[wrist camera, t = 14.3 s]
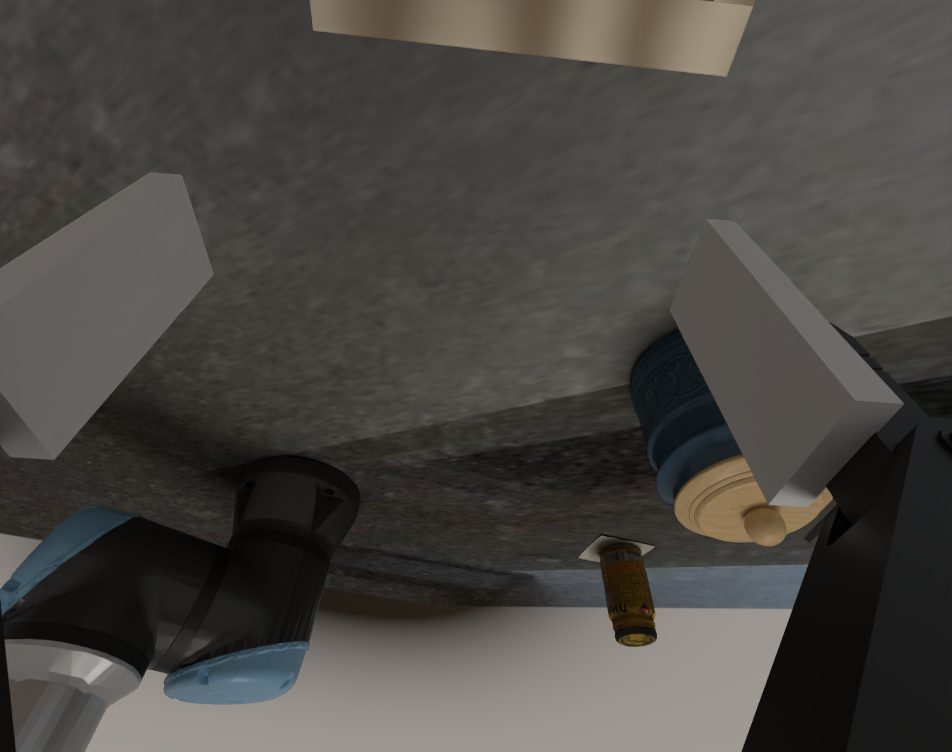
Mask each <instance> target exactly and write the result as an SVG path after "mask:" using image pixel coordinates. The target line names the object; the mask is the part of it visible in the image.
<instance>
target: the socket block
mask: <svg viewBox="0 0 952 752" xmlns="http://www.w3.org/2000/svg"><path fill="white" fill-rule="evenodd" d="M754 3H755V0H310V7H311V15H312V24H313V31H320V32H329V33H338V34H347V35H356V36H365V37H374V38H383V39H392V40H401V41H410V42H419V43H428V44H437V45H446V46H455V47H465V48H474V49H483V50H492V51H501V52H510V53H519V54H528V55H537V56H546V57H555V58H564V59H573V60H582V61H591V62H600V63H609V64H618V65H627V66H636V67H645V68H654V69H663V70H672V71H681V72H690V73H699V74H708V75H717V76H726V77H727V74H728V71H729V69H730V66H731V63H732V61H733V58H734V56H735V53H736V50H737V48H738V45H739V42H740V40H741V37H742V35H743V32H744V29H745V27H746V24H747V21H748V19H749V16H750V13H751V11H752V8H753V6H754Z"/></svg>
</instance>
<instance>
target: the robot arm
mask: <svg viewBox="0 0 952 752" xmlns="http://www.w3.org/2000/svg"><path fill="white" fill-rule="evenodd" d="M213 275H214V274H213V270H212V267H211V264H210V261H209V258H208V255H207V252H206V248H205V245H204V242H203V239H202V236H201V233H200V230H199V227H198V223H197V220H196V217H195V214H194V211H193V208H192V205H191V201H190V198H189V195H188V192H187V189H186V186H185V183H184V180H183V176H182V175H178V174H166V173H154V172H150V173H148V174H146V175H145V176H143V177H142V178H140V179H139V180H137V181H136V182H134V183H132V184H131V185H129V186H128V187H126V188H125V189H123V190H121V191H120V192H118V193H117V194H115V195H114V196H112V197H111V198H109V199H107V200H106V201H104V202H103V203H101V204H100V205H98V206H97V207H95V208H93V209H92V210H90V211H89V212H87V213H86V214H84V215H82V216H81V217H79V218H78V219H76V220H75V221H73V222H72V223H70V224H68V225H67V226H65V227H64V228H62V229H61V230H59V231H57V232H56V233H54V234H53V235H51V236H50V237H48V238H47V239H45V240H43V241H42V242H40V243H39V244H37V245H36V246H34V247H32V248H31V249H29V250H28V251H26V252H25V253H23V254H22V255H20V256H18V257H17V258H15V259H14V260H12V261H11V262H9V263H8V264H6V265H4V266H3V267H1V268H0V446H1V447H2V448H3V449H4V450H5V452H6V453H7V454H8V455H9V456H10V457H19V458H35V459H51V460H54V459H55V458H56V457H57V456H58V455H59V454H60V452H61V451H62V450H63V449H64V448H65V447H66V445H67V444H68V443H69V442H70V441H71V440H72V439H73V437H74V436H75V435H76V434H77V433H78V432H79V430H80V429H81V428H82V427H83V426H84V425H85V423H86V422H87V421H88V420H89V419H90V418H91V416H92V415H93V414H94V413H95V412H96V411H97V410H98V408H99V407H100V406H101V405H102V404H103V403H104V401H105V400H106V399H107V398H108V397H109V396H110V394H111V393H112V392H113V391H114V390H115V389H116V387H117V386H118V385H119V384H120V383H121V382H122V381H123V379H124V378H125V377H126V376H127V375H128V374H129V372H130V371H131V370H132V369H133V368H134V367H135V365H136V364H137V363H138V362H139V361H140V360H141V358H142V357H143V356H144V355H145V354H146V353H147V351H148V350H149V349H150V348H151V347H152V346H153V345H154V343H155V342H156V341H157V340H158V339H159V338H160V336H161V335H162V334H163V333H164V332H165V331H166V329H167V328H168V327H169V326H170V325H171V324H172V322H173V321H174V320H175V319H176V318H177V317H178V316H179V314H180V313H181V312H182V311H183V310H184V309H185V307H186V306H187V305H188V304H189V303H190V302H191V300H192V299H193V298H194V297H195V296H196V295H197V293H198V292H199V291H200V290H201V289H202V288H203V287H204V285H205V284H206V283H207V282H208V281H209V280H210V278H211V277H212V276H213ZM669 310H670V312H671V314H672V316H673V318H674V320H675V322H676V324H677V326H678V328H679V330H680V332H681V334H682V336H683V338H684V340H685V342H686V344H687V346H688V348H689V350H690V352H691V354H692V356H693V357H694V359H695V361H696V363H697V365H698V367H699V369H700V371H701V373H702V375H703V377H704V379H705V381H706V383H707V385H708V387H709V389H710V391H711V393H712V395H713V397H714V399H715V401H716V403H717V405H718V407H719V409H720V411H721V413H722V415H723V417H724V419H725V421H726V423H727V424H728V426H729V428H730V430H731V432H732V434H733V436H734V438H735V440H736V442H737V444H738V446H739V448H740V450H741V452H742V454H743V456H744V458H745V460H746V462H747V464H748V466H749V468H750V470H751V472H752V474H753V476H754V478H755V480H756V482H757V484H758V486H759V488H760V490H761V492H762V493H763V495H764V497H765V499H766V501H767V503H768V505H778V506H794V507H809V505H810V504H811V503H812V502H813V501H814V500H815V499H816V498H817V497H818V496H819V495H820V494H821V493H822V492H823V490H824V489H825V488H826V487H827V489H828V490H829V492H830V493H831V495H832V497H833V498H834V500H835V501H836V503H837V505H836V506H835V507H834V508H833V509H832V510H831V511H830V512H829V513H828V514H827V515H826V516H825V517H824V518H823V519H822V520H821V521H820V522H819V523H818V524H817V525H816V526H815V527H814V528H813V529H812V530H811V531H810V532H809V533H808V534H807V535H806V537H805V538H804V539H805V540H807V541H808V542H811V541H812V540H813V539H814V538H815V537H816V536H819V537H818V539H817V542H816V545H815V548H814V551H813V553H812V556H811V559H810V562H809V565H808V567H807V570H806V573H805V576H804V579H803V581H802V584H801V587H800V590H799V593H798V595H797V598H796V601H795V604H794V607H793V609H792V613H791V615H790V618H789V621H788V623H787V626H786V629H785V632H784V635H783V638H782V640H781V643H780V646H779V648H778V651H777V654H776V657H775V660H774V662H773V665H772V668H771V671H770V674H769V677H768V679H767V682H766V685H765V688H764V691H763V693H762V696H761V699H760V702H759V704H758V707H757V710H756V713H755V716H754V718H753V721H752V724H751V727H750V729H749V732H748V735H747V738H746V741H745V744H744V746H743V749H742V752H952V420H951V419H946V418H939V417H929V416H928V415H927V414H926V413H925V412H924V411H923V410H922V409H921V408H920V407H919V406H918V405H917V404H916V403H915V402H914V400H913V399H912V398H911V397H910V396H909V395H908V394H907V393H906V392H905V391H904V390H903V389H902V388H901V387H900V386H899V385H898V384H897V383H896V382H895V381H894V379H893V378H892V377H891V376H890V375H889V374H888V373H887V372H883V371H882V369H883V368H882V367H881V366H880V365H879V364H878V363H877V362H876V361H875V360H874V358H870V357H869V355H870V354H869V353H868V352H867V351H866V350H865V349H864V348H863V347H862V346H861V345H860V344H859V343H858V342H857V341H856V340H855V339H854V338H853V337H852V336H850V335H849V334H847V333H846V332H844V331H843V330H841V329H840V328H838V327H837V326H835V325H834V324H832V323H831V322H828V321H827V320H826V319H825V318H824V316H823V315H822V314H821V313H820V312H819V311H818V310H817V309H816V308H815V307H814V306H813V305H812V304H811V302H810V301H809V300H808V299H807V298H806V297H805V296H804V295H803V294H802V293H801V292H800V291H799V289H798V288H797V287H796V286H795V285H794V284H793V283H792V282H791V281H790V280H789V279H788V278H787V276H786V275H785V274H784V273H783V272H782V271H781V270H780V269H779V268H778V267H777V266H776V265H775V263H774V262H773V261H772V260H771V259H770V258H769V257H768V256H767V255H766V254H765V253H764V252H763V251H762V249H761V248H760V247H759V246H758V245H757V244H756V243H755V242H754V241H753V240H752V239H751V238H750V236H749V235H748V234H747V233H746V232H745V231H744V230H743V229H742V228H741V227H740V226H739V225H738V223H737V222H736V221H725V220H714V219H706V220H705V223H704V225H703V228H702V230H701V233H700V235H699V238H698V240H697V243H696V245H695V248H694V250H693V252H692V255H691V257H690V260H689V262H688V265H687V267H686V270H685V272H684V275H683V277H682V280H681V282H680V284H679V287H678V289H677V292H676V294H675V297H674V299H673V302H672V304H671V307H670V309H669ZM359 506H360V494H359V492H358V490H357V488H356V486H355V485H354V484H353V483H352V482H351V481H350V480H349V479H348V478H347V477H346V476H344V475H343V474H342V473H340V472H338V471H337V470H335V469H333V468H331V467H329V466H327V465H324V464H321V463H319V462H315V461H312V460H308V459H303V458H296V457H272V458H267V459H263V460H260V461H257V462H255V463H253V464H252V465H250V466H249V467H248V468H247V469H246V470H245V472H244V474H243V476H242V478H241V480H240V482H239V484H238V487H237V490H236V497H235V509H234V521H233V532H232V536H231V539H230V541H229V543H228V545H227V548H225V547H222V546H219V545H216V544H214V543H211V542H208V541H205V540H203V539H200V538H197V537H194V536H192V535H189V534H186V533H183V532H181V531H178V530H175V529H172V528H170V527H167V526H164V525H161V524H159V523H156V522H153V521H150V520H148V519H145V518H142V515H139V514H129V513H125V512H122V511H119V510H115V509H112V508H109V507H106V506H101V505H94V506H89V507H85V508H83V509H81V510H79V511H77V512H75V513H74V514H72V515H71V516H70V517H68V518H67V519H66V520H65V521H63V522H62V523H61V524H60V525H59V526H58V527H57V528H56V529H55V530H53V531H52V532H51V533H50V534H49V535H48V536H47V537H46V538H45V539H44V540H43V541H42V542H41V543H40V544H39V545H38V546H37V547H36V549H35V550H34V551H33V552H32V553H31V554H30V555H29V556H28V557H27V558H26V559H25V560H24V561H23V562H22V564H21V565H20V566H19V567H18V568H17V569H16V571H15V572H14V573H13V574H12V576H11V579H10V580H8V581H7V582H6V583H5V584H4V586H3V587H2V588H1V589H0V752H85V750H86V748H87V746H88V744H89V742H90V740H91V738H92V736H93V734H94V732H95V730H96V728H97V726H98V724H99V722H100V720H101V718H102V716H103V714H104V712H105V710H106V709H107V708H108V707H109V706H110V705H111V704H113V703H115V702H116V701H118V700H120V699H121V698H123V697H125V696H127V695H128V694H130V693H132V692H133V691H135V689H137V688H138V686H139V684H140V682H141V680H142V678H143V676H144V674H145V672H146V670H147V669H149V670H155V671H159V672H163V673H166V674H168V676H167V677H166V678H165V680H164V694H165V695H166V696H168V697H170V698H176V699H179V700H180V701H184V702H190V703H200V704H246V703H255V702H262V701H267V700H271V699H274V698H277V697H279V696H281V695H283V694H285V693H286V692H287V691H288V690H290V689H291V687H292V686H293V685H294V683H295V682H296V679H297V677H298V674H299V671H300V668H301V665H302V662H303V659H304V656H305V652H306V651H307V650H308V648H309V645H310V643H309V640H310V637H311V633H312V629H313V625H314V621H315V618H316V614H317V610H318V606H319V602H320V599H321V595H322V591H323V587H324V584H325V580H326V576H327V572H328V568H329V565H330V561H331V558H332V556H333V555H334V553H335V551H336V550H337V548H338V547H339V545H340V544H341V542H342V541H343V539H344V538H345V536H346V535H347V533H348V532H349V530H350V528H351V527H352V525H353V524H354V522H355V520H356V517H357V514H358V510H359Z"/></svg>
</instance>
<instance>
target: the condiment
mask: <svg viewBox="0 0 952 752" xmlns="http://www.w3.org/2000/svg"><path fill="white" fill-rule="evenodd" d="M654 547H655V546H650V545H646V544H642V543H638V542H633V541H628V540H621V539H617V538H613V537H606V536H600V537H599V538H597V539H596V540H595V541H594V542H593V543H592V544H591V545H590V546H589V547H587V548H586V550H585V551H584V552H583V553H581V555H580V556H579V557H578V558H581V559H587V560H590V561H595V562H600V563H601V570H602V577H603V582H604V588H605V595H606V602H607V608H608V613H609V618H610V620H611V621H612V623H613V629H614V631H615V638H616V641H617V642H618V643H620V644H622V645H624V646H631V647H639V646H646V645H650V644H652V643H653V642H655V641H656V639H657V633H656V630H655V623H654V622H653V620H654V618H655V610H654V606H653V605H654V604H653V600H652V596H651V592H650V587H649V582H648V577H647V573H646V570H645V566H644V561H643V557H642V556H643V555H644V554H645V553H647V552H649V551H650V550H651V549H652V548H654ZM596 552H597V553H598V554H597V553H596Z"/></svg>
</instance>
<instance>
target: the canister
mask: <svg viewBox="0 0 952 752" xmlns="http://www.w3.org/2000/svg"><path fill="white" fill-rule="evenodd" d="M631 400H632V403H633V407H634V410H635V413H636V414H637V416H638V418H639V421H640V424H641V428H642V431H643V435H644V438H645V442H646V452H647V457H648V460H649V462H650V464H651V465H652V467H653V468H654V469H655V470H656V471H657V474H656V482H655V483H656V489H657V492H658V494H659V496H660V497H661V498H662V500H663V501H664V502H665V503H666V504H667V505H669V506H670V507H672V508H673V509H674V511H675V515H676V517H677V519H678V520H679V521H680V523H681V524H682V525H684V526H685V527H686V528H688V529H689V530H691V531H693V532H696V533H698V534H702V535H705V536H710V537H713V538H716V539H719V540H723V541H729V542H756V543H758V544H760V545H764V546H773V545H776V544H779V543H780V542H782V540H783V539H784V538H785V536H786V534H788V533H791V532H793V531H795V530H797V529H799V528H801V527H803V526H805V525H806V524H808V523H809V522H810V521H812V520H813V519H814V518H815V517H816V516H817V515H818V514H819V512H820V511H821V510H822V509H823V508H824V507H826V506H827V505H828V503H829V502H830V501H831V500H832V498H833V497H832V495H831V493H830V492H829V490H828V489H827V487H826V488H825V489H824V490H823V492H822V493H821V494H820V495H819V496H818V497H817V498H816V499H815V500H814V501H813V502H812V503H811V504H810V505H809V507H794V506H778V505H768V503H767V501H766V499H765V497H764V495H763V493H762V492H761V490H760V488H759V486H758V484H757V482H756V480H755V478H754V476H753V474H752V472H751V470H750V468H749V466H748V464H747V462H746V460H745V458H744V456H743V454H742V452H741V450H740V448H739V446H738V444H737V442H736V440H735V438H734V436H733V434H732V432H731V430H730V428H729V426H728V424H727V423H726V421H725V419H724V417H723V415H722V413H721V411H720V409H719V407H718V405H717V403H716V401H715V399H714V397H713V395H712V393H711V391H710V389H709V387H708V385H707V383H706V381H705V379H704V377H703V375H702V373H701V371H700V369H699V367H698V365H697V363H696V361H695V359H694V357H693V356H692V354H691V352H690V350H689V348H688V346H687V344H686V342H685V340H684V338H683V336H682V334H681V332H680V331H678V332H675V333H673V334H671V335H669V336H667V337H665V338H664V339H662V340H661V341H659V342H658V343H656V344H655V345H654V346H652V347H651V348H650V349H649V350H648V351H647V352H646V353H645V354H644V355H643V356H642V357H641V359H640V360H639V362H638V363H637V365H636V367H635V369H634V371H633V374H632V379H631Z"/></svg>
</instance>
